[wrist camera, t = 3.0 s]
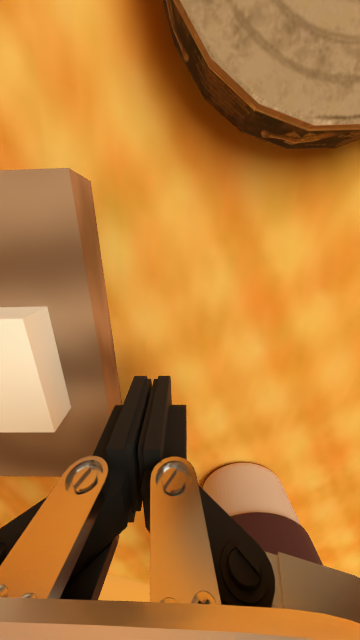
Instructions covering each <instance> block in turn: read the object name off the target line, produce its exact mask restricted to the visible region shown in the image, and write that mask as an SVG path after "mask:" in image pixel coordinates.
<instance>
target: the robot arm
mask: <svg viewBox="0 0 360 640" xmlns="http://www.w3.org/2000/svg"><path fill="white" fill-rule="evenodd" d="M186 441H187V434H186V405H172V400H171V378H170V376H159V377H158V379H154V381H153V385H152V382H151V379H147V376H135V377H134V379H133V381H132V384H131V387H130V389H129V392H128V394H127V397H126V399H125V402H124V404H123V405H115V406H114V408H113V410H112V413H111V415H110V417H109V419H108V422H107V424H106V426H105V428H104V431H103V433H102V435H101V437H100V440H99V442H98V444H97V446H96V449H95V451H94V453H93V455H92V456H88V457H84V458H82V459H80V460H78V461H76V462H75V463H73V464H72V465H71V466H69V468H68V469H67V470H66V471H65V472H64V474H63V475H62V477H61V478H60V480H59V481H58V482H57V484H56V485H55V487H54V488H53V490H52V491H51V493H50V494H49V496H48V497H46V498H45V499H43V500H42V501H40V502H39V503H38V504H36V505H35V506H33V507H32V508H30V509H29V510H27V511H26V512H24V513H23V514H21V515H20V516H18V517H17V518H15V519H14V520H12V521H11V522H9V523H8V524H6V525H5V526H3V527H2V528H0V640H360V578H359V577H357V576H355V575H351V574H348V573H345V572H342V571H339V570H335V569H332V568H329V567H326V566H323V565H319V564H316V563H313V562H310V561H307V560H303V559H300V558H297V557H294V556H291V555H287V554H284V553H281V552H278V555H275V554H271V553H268V552H265V551H264V550H263V549H262V548H261V547H260V545H259V544H258V543H257V542H256V541H255V540H254V539H253V538H252V537H251V536H250V535H249V534H248V533H247V532H246V531H245V530H244V529H243V528H242V527H241V526H240V525H239V524H238V523H237V522H236V521H235V520H234V519H233V518H232V517H230V516H229V515H228V514H227V513H226V512H225V511H224V510H223V509H222V508H221V507H220V506H219V505H218V504H217V503H216V502H215V501H214V500H213V499H212V498H211V497H210V496H209V495H208V494H207V493H206V492H205V491H204V490H203V489H202V488H201V487H200V486H199V485H198V481H197V476H196V472H195V470H194V467H193V466H192V465H191V463H190V462H188V461H187V460H186ZM142 501H143V508H144V516H145V525H146V528H147V530H148V531H149V533H150V602H132V601H130V602H129V601H101V600H98V598H99V595H100V592H101V590H102V587H103V584H104V581H105V578H106V575H107V572H108V569H109V567H110V564H111V561H112V558H113V555H114V552H115V549H116V547H117V544H118V539H119V534H120V533H121V532H122V531H123V530H124V529H125V528H126V527H127V524H128V522H134V517H135V512H136V511H140V510H141V507H142Z"/></svg>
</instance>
